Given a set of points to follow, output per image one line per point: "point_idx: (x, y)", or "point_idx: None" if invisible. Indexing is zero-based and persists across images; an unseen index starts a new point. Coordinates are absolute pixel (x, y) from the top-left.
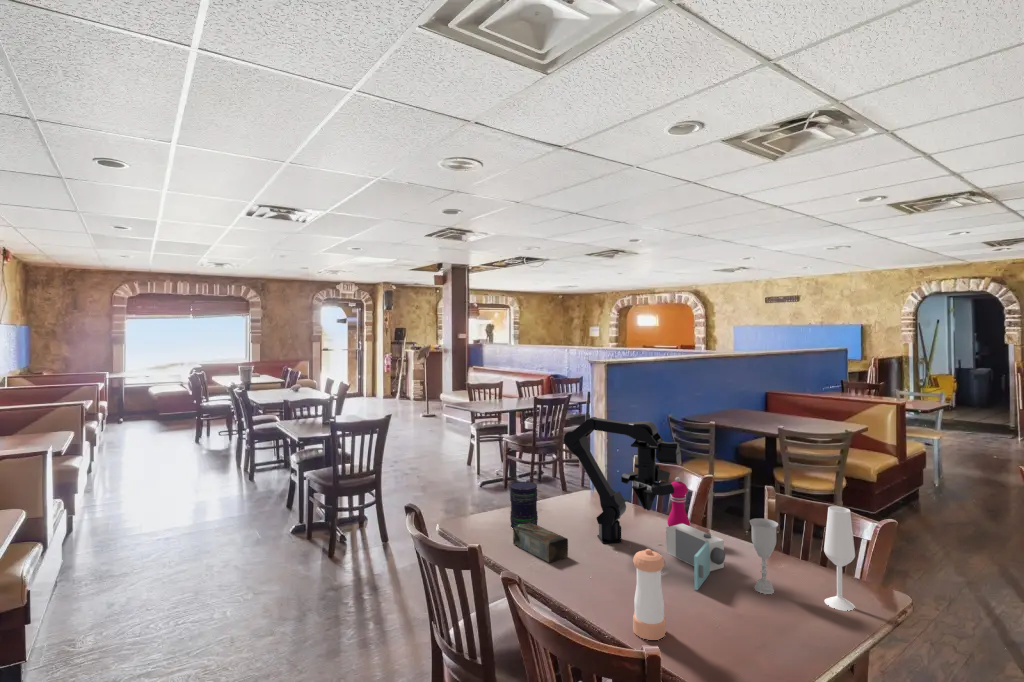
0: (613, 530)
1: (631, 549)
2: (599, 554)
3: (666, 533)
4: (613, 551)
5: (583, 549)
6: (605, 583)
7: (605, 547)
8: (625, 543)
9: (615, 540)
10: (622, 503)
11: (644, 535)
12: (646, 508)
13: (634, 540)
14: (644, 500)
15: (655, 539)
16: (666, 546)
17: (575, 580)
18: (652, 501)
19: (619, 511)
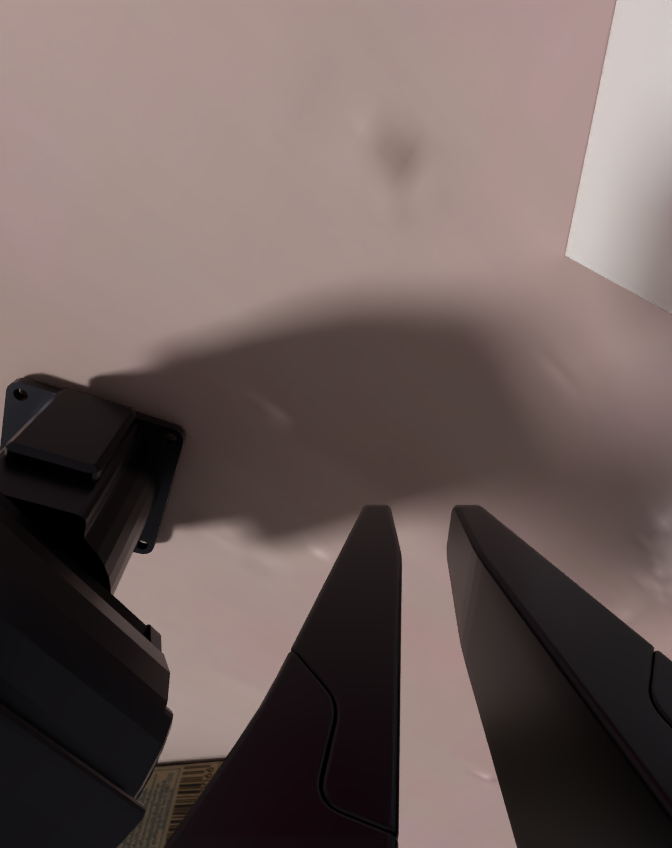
0: (131, 543)
1: (336, 447)
2: (293, 640)
3: (665, 309)
4: (299, 560)
5: (183, 668)
6: None
7: (214, 563)
8: (213, 411)
9: (156, 469)
10: (26, 745)
11: (108, 107)
12: (458, 595)
13: (188, 303)
14: (515, 830)
15: (259, 82)
16: (591, 269)
17: (468, 820)
18: (626, 653)
19: (163, 741)
